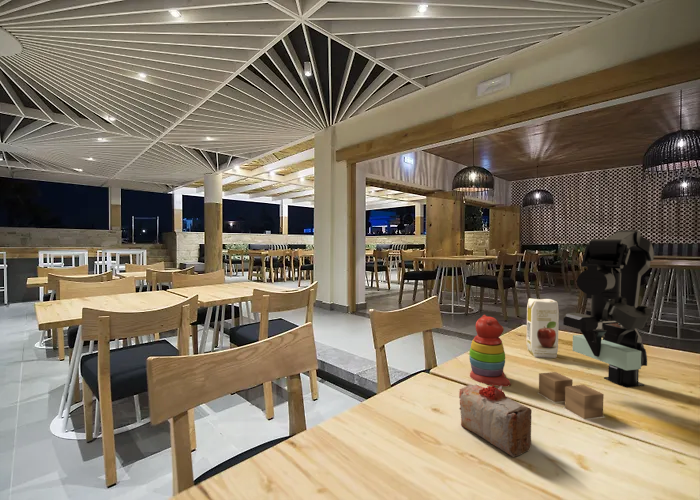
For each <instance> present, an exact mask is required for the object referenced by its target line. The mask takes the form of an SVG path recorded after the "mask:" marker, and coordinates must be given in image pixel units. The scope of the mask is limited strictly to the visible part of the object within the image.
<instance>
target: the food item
mask: <svg viewBox="0 0 700 500" xmlns="http://www.w3.org/2000/svg"><path fill="white" fill-rule="evenodd" d="M502 388H503V386H498V387H495V386H494V385H488V386H487V387H484V386H481V385H479V384H468V385H465V386H463V387H462V388H459V391H458V392H459V393H458V396H459V397H458V398H459V408H458V409H459V410H460V411H459V412H460V426H461V427H462V428H465V430H468V431H470V432H472V433H474V434H476V436H478V437H481V438H482V439H484V440H485V441H486V442H489V443H490V444H491V445H493V446H494V447H496V448H498V449H499V450H501V451H503V452H504V453H506V454H507V455H509V456H511V457H512V458H515V457H517V456H520V455H522V454H524V453H526V452H528V451H530V449H531V448H532V409H531V408H530V407H528V406H526V405H524V404H521V403H520V402H517V401H516V400H514V399H511V398H509V397H507V396H506V394H505V392H504V391H503V389H502Z"/></svg>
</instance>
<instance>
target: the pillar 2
mask: <svg viewBox="0 0 700 500" xmlns="http://www.w3.org/2000/svg"><path fill="white" fill-rule="evenodd" d="M564 407H565V408H566V409H567V410H569V411H571V412H573V413H574V414H576V415H578V416H580V417H581V418H583V419H589V418H596V417H603V416H604V393H603V392H600V391H598V390H596V389H595V388H591V387H589V386H587V385H585V384H578V385H572V386H566V387H565V402H564ZM566 409H565V410H566ZM567 410H566V411H567ZM569 411H568V412H569ZM571 412H570V413H571ZM573 413H572V414H573ZM574 414H573V415H574ZM576 415H575V416H576ZM578 416H577V417H578ZM580 417H579V418H580ZM581 418H580V419H581ZM583 419H582V420H583ZM589 420H590V419H589Z"/></svg>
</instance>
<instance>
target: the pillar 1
mask: <svg viewBox="0 0 700 500" xmlns="http://www.w3.org/2000/svg"><path fill="white" fill-rule="evenodd" d="M566 386H573V379H572V378H569V377H567V376H565V375H563V374H562V373H559V372H557V371H552V372H541V373H538V393H539V394H538V395H540V394H541V395H543V396H545V397H546V398H545V397H544V398H545V399H547V398H548V399H550V400H552V401H553V402H559V403H561V402H560V401H565V387H566ZM541 395H540V396H541ZM543 396H542V397H543ZM548 399H547V400H548ZM550 400H549V401H550ZM552 401H551V402H552ZM553 402H552V403H553Z"/></svg>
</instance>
